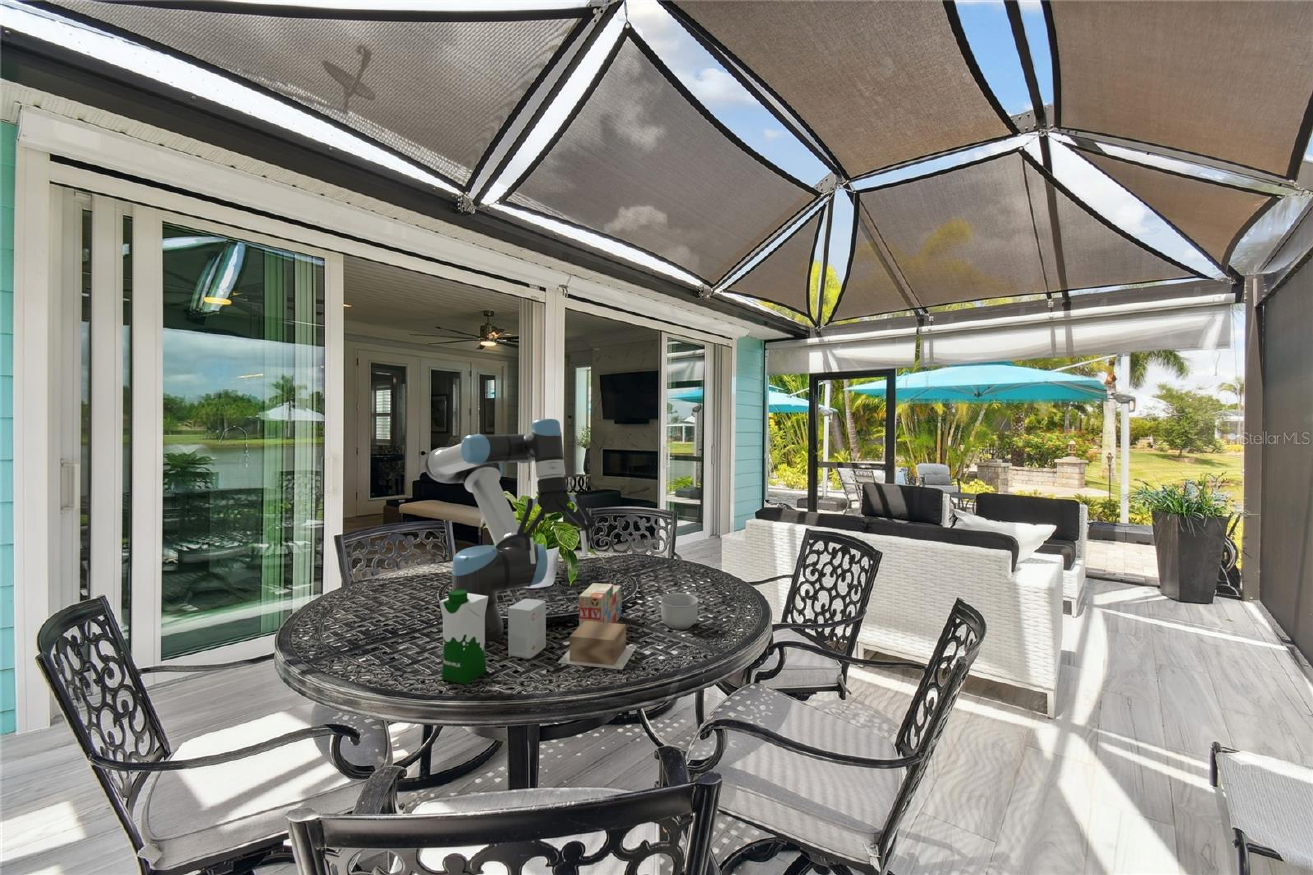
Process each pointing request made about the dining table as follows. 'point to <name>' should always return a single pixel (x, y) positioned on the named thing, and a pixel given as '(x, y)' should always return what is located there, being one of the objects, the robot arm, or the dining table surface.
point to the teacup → (678, 610)
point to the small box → (526, 628)
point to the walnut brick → (598, 642)
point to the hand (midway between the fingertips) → (559, 559)
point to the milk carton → (463, 636)
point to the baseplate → (617, 665)
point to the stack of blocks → (600, 603)
